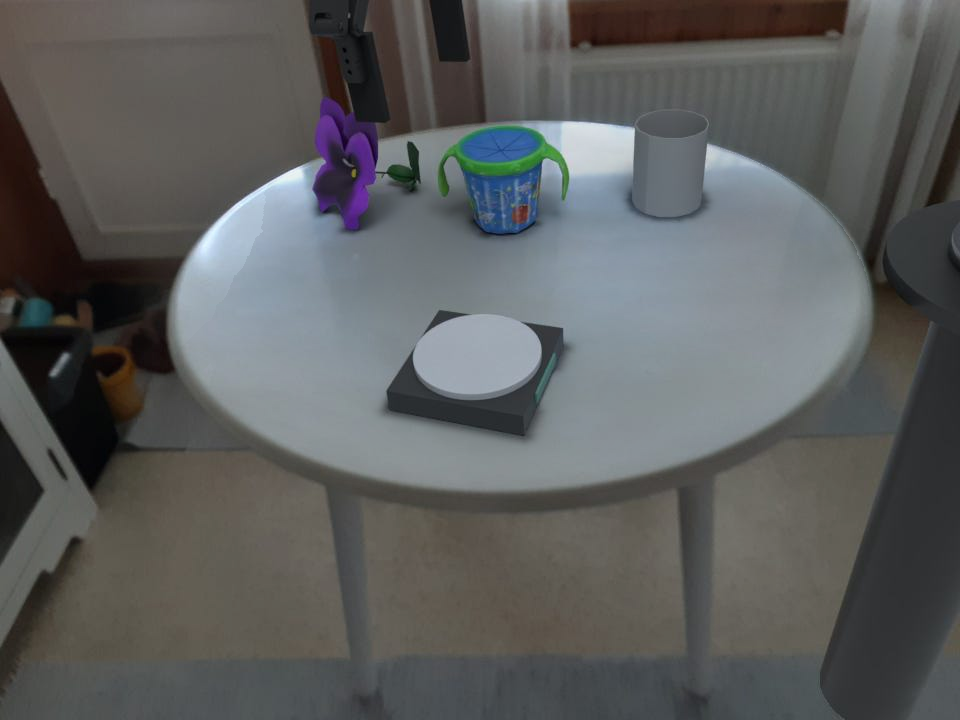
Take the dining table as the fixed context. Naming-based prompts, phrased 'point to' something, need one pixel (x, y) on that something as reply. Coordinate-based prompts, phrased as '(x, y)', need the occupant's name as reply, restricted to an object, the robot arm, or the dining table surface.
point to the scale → (478, 371)
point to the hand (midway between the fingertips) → (416, 88)
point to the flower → (352, 162)
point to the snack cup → (503, 175)
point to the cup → (669, 162)
